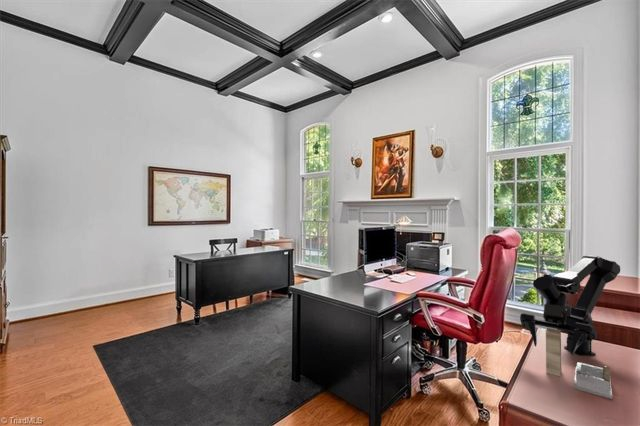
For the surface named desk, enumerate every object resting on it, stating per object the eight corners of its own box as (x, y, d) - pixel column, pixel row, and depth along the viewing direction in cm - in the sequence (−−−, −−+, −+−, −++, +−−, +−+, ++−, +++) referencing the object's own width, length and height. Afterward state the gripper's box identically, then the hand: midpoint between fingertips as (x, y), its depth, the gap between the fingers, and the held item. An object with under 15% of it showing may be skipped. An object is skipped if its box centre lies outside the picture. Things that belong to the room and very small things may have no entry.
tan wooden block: (547, 367, 100) (547, 327, 100) (561, 370, 97) (560, 330, 97) (546, 372, 96) (545, 331, 96) (560, 376, 94) (559, 334, 94)
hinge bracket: (575, 369, 98) (575, 353, 98) (610, 378, 93) (609, 361, 93) (573, 388, 88) (573, 370, 88) (612, 399, 82) (612, 380, 82)
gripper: (520, 289, 107) (514, 329, 98) (592, 299, 94) (592, 346, 86) (524, 306, 112) (519, 346, 104) (592, 318, 100) (592, 364, 92)
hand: (552, 350), depth 96 cm, fingers open, 9 cm apart
